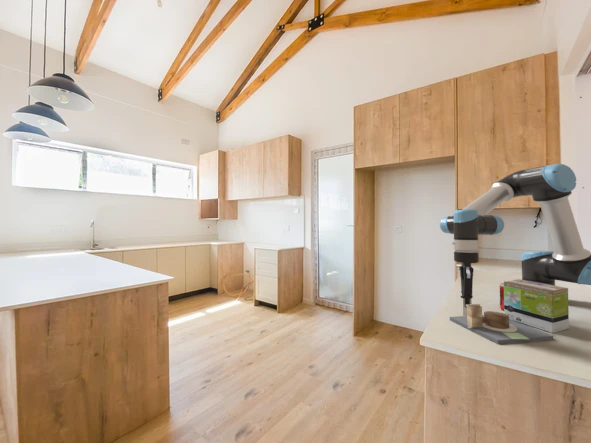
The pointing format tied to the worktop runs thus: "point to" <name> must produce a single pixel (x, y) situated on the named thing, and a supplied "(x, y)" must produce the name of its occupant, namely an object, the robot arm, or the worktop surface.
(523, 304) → the tea box
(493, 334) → the tuner board
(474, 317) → the dial
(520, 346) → the worktop surface
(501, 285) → the canned food
